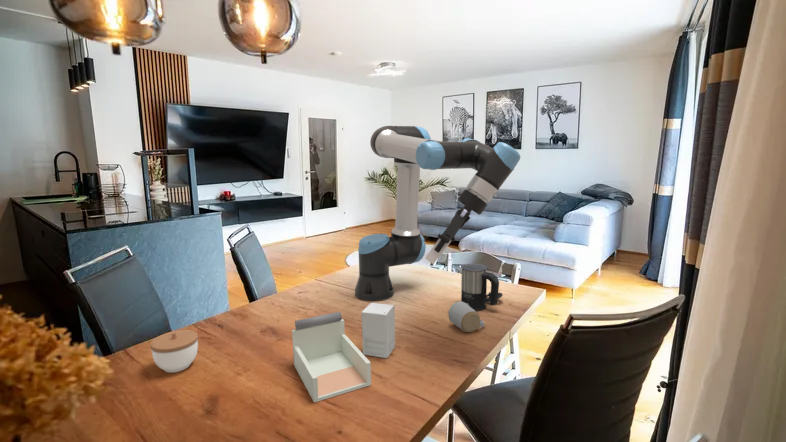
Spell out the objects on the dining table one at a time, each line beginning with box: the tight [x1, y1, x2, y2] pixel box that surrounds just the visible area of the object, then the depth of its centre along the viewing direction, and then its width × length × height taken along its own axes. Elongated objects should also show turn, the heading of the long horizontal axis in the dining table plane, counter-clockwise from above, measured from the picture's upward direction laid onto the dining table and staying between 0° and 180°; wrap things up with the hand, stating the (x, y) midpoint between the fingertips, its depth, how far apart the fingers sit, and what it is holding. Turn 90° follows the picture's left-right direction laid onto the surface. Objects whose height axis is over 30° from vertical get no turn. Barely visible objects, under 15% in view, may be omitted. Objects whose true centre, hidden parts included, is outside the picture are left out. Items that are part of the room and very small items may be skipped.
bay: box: [291, 311, 372, 403], centre depth 97 cm, size 19×14×12 cm
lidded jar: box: [149, 329, 199, 374], centre depth 101 cm, size 11×11×9 cm
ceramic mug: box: [447, 300, 486, 333], centre depth 123 cm, size 11×8×8 cm
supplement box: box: [361, 302, 396, 359], centre depth 109 cm, size 7×7×13 cm
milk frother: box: [460, 263, 503, 312], centre depth 142 cm, size 14×16×15 cm
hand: (432, 258), depth 109 cm, fingers open, 13 cm apart
